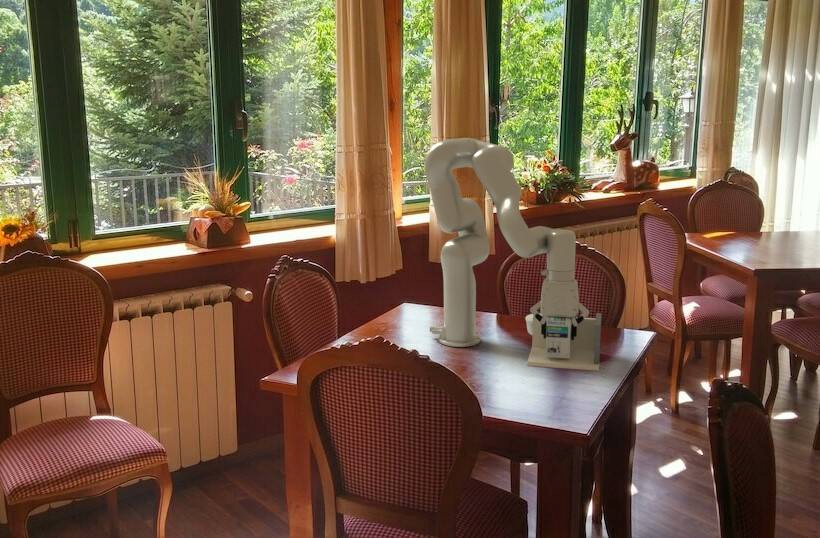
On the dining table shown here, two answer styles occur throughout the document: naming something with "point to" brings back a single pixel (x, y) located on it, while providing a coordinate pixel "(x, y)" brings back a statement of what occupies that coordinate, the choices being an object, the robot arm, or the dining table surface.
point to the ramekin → (530, 323)
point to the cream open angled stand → (579, 348)
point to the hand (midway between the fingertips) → (558, 337)
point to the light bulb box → (558, 337)
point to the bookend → (597, 338)
